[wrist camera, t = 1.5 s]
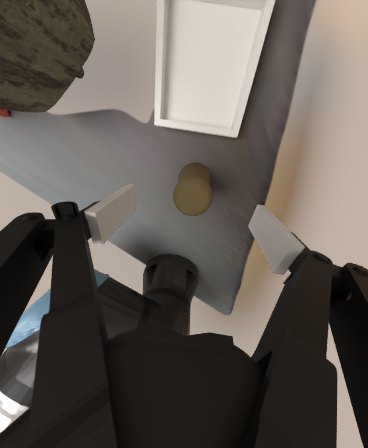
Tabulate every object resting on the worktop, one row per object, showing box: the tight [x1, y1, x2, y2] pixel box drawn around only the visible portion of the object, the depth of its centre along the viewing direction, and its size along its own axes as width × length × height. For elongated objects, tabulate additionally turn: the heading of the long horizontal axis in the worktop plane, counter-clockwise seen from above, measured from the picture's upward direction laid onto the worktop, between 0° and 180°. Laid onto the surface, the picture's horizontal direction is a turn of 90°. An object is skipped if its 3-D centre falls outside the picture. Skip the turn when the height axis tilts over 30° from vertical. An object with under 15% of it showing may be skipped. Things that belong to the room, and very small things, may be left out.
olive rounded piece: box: [173, 163, 213, 216], centre depth 22 cm, size 6×6×11 cm
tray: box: [154, 0, 275, 138], centre depth 18 cm, size 13×12×3 cm
